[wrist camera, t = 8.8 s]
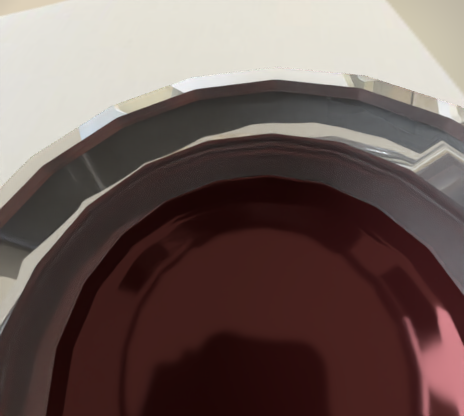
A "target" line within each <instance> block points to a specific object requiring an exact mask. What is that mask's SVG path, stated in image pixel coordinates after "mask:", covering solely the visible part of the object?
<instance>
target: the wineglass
mask: <svg viewBox="0 0 464 416" xmlns="http://www.w3.org/2000/svg"><path fill="white" fill-rule="evenodd" d="M0 416H464V108H462V107H460V106H457V105H454V104H451V103H448V102H445V101H442V100H439V99H436V98H433V97H430V96H427V95H423V94H420V93H417V92H414V91H411V90H408V89H405V88H402V87H399V86H396V85H392V84H389V83H386V82H383V81H380V80H377V79H374V78H371V77H368V76H364V75H354V74H344V73H333V72H323V71H313V70H303V69H292V68H282V67H271V68H263V69H255V70H247V71H239V72H231V73H223V74H215V75H207V76H198V77H191V78H189V79H186V80H183V81H180V82H177V83H175V84H172V85H169V86H166V87H163V88H161V89H158V90H155V91H152V92H150V93H147V94H144V95H141V96H138V97H136V98H133V99H130V100H127V101H124V102H122V103H119V104H116V105H113V106H111V107H109V108H107V109H106V110H104V111H103V112H101V113H100V114H98V115H96V116H95V117H93V118H92V119H90V120H89V121H87V122H85V123H84V124H82V125H81V126H79V127H78V128H76V129H74V130H73V131H71V132H70V133H68V134H66V135H65V136H63V137H62V138H60V139H59V140H57V141H55V142H54V143H52V144H51V145H49V146H48V147H46V148H44V149H43V150H41V151H40V152H38V153H37V154H35V155H33V156H32V157H31V158H30V159H29V160H28V161H27V162H26V163H25V164H24V165H23V166H22V167H21V168H20V169H19V170H18V171H17V172H16V173H15V174H14V175H13V176H12V177H11V178H10V179H9V180H8V181H7V182H6V183H5V184H4V185H3V186H2V187H1V188H0Z"/></svg>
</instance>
